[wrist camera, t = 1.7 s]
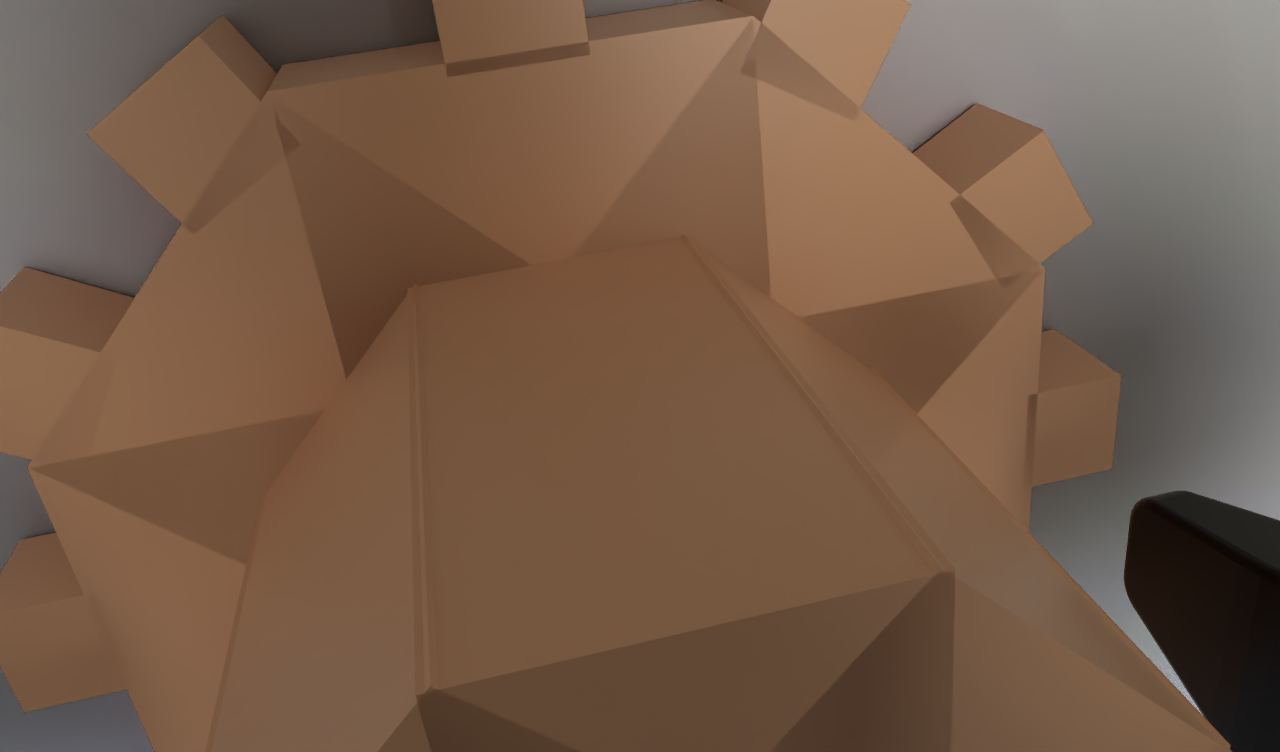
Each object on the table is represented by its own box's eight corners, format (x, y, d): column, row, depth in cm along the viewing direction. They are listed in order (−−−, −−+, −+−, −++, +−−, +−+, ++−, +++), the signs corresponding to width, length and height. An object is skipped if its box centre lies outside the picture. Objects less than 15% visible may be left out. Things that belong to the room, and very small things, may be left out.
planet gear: (1027, 728, 14) (1400, 1238, 9) (205, 938, 13) (71, 1686, 8) (1089, -167, 9) (1991, -211, 4) (-227, 16, 8) (-1473, 308, 3)
